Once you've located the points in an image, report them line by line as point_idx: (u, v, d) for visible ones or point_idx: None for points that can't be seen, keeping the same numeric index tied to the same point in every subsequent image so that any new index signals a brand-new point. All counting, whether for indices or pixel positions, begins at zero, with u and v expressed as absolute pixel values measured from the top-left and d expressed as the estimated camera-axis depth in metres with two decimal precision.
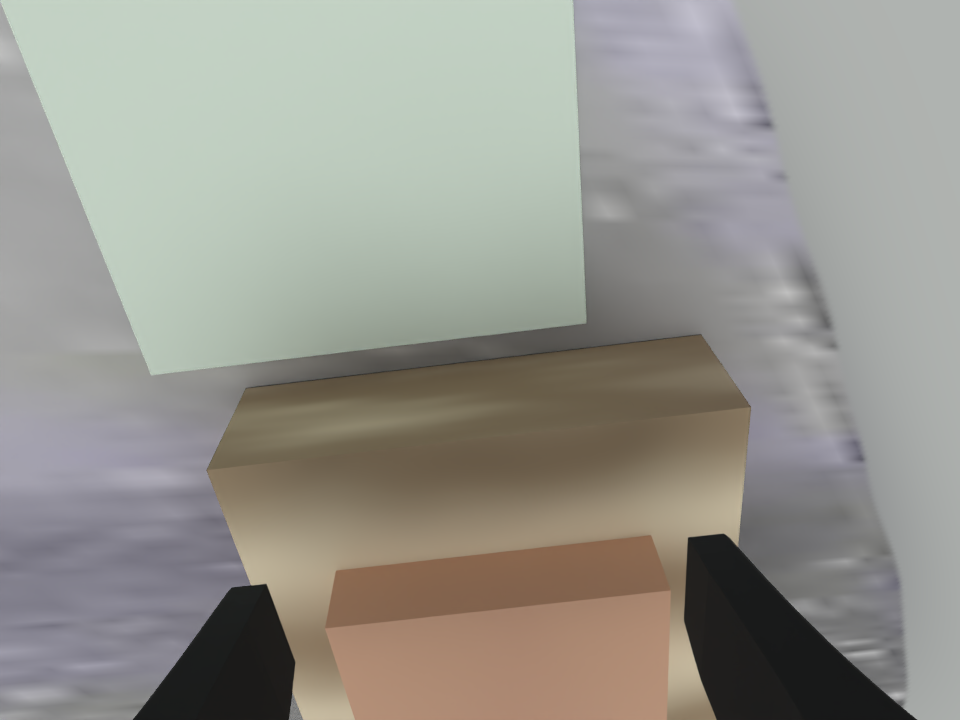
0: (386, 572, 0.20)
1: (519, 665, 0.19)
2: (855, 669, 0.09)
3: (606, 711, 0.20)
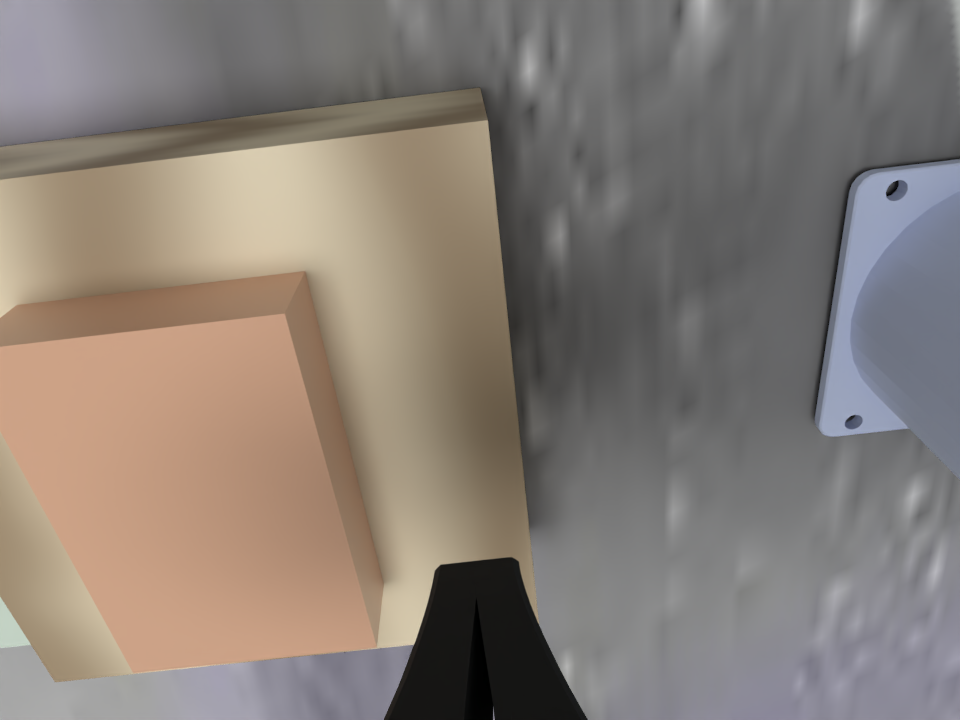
0: None
1: (158, 510, 0.15)
2: (569, 699, 0.09)
3: (243, 404, 0.13)
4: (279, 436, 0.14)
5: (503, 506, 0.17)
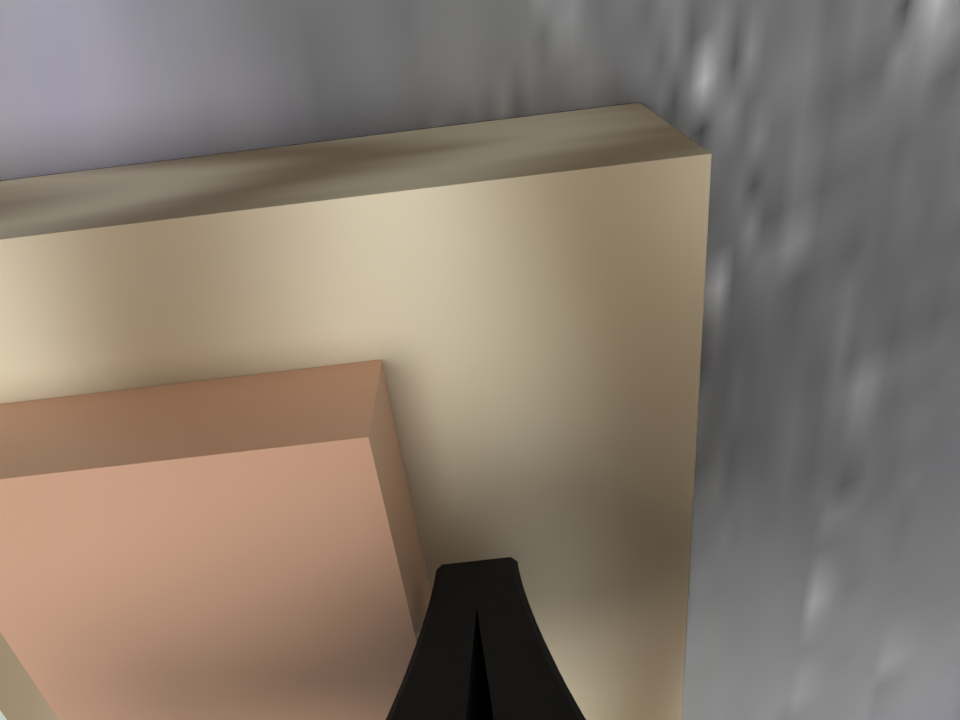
0: None
1: (184, 675, 0.11)
2: (568, 700, 0.09)
3: (303, 550, 0.10)
4: (350, 587, 0.10)
5: (657, 630, 0.14)
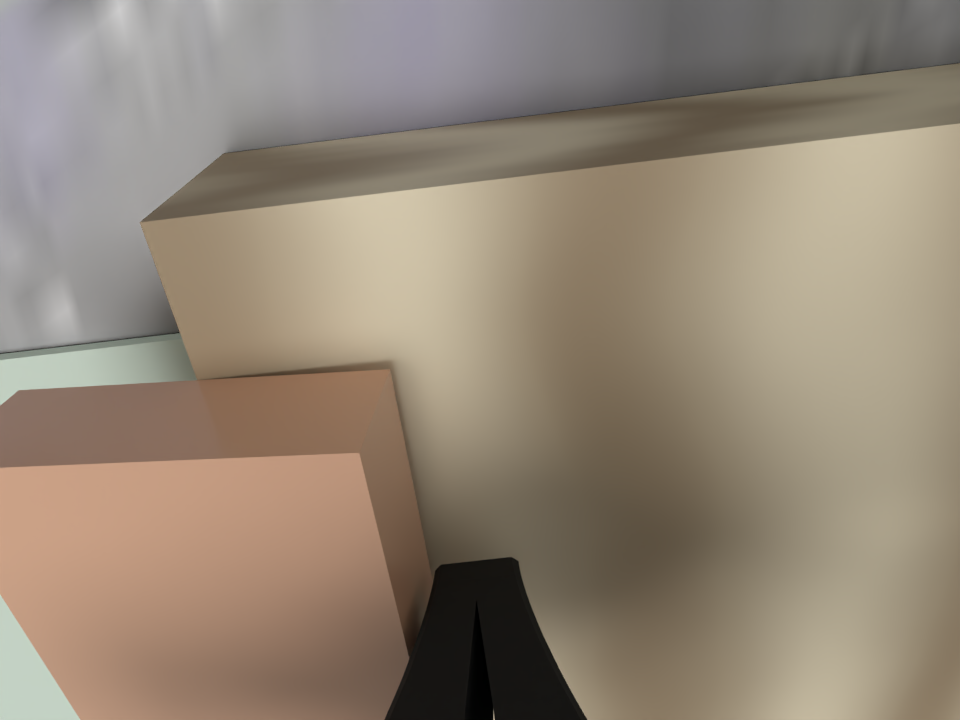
0: None
1: (182, 669, 0.11)
2: (569, 699, 0.09)
3: (296, 559, 0.10)
4: (342, 600, 0.10)
5: None
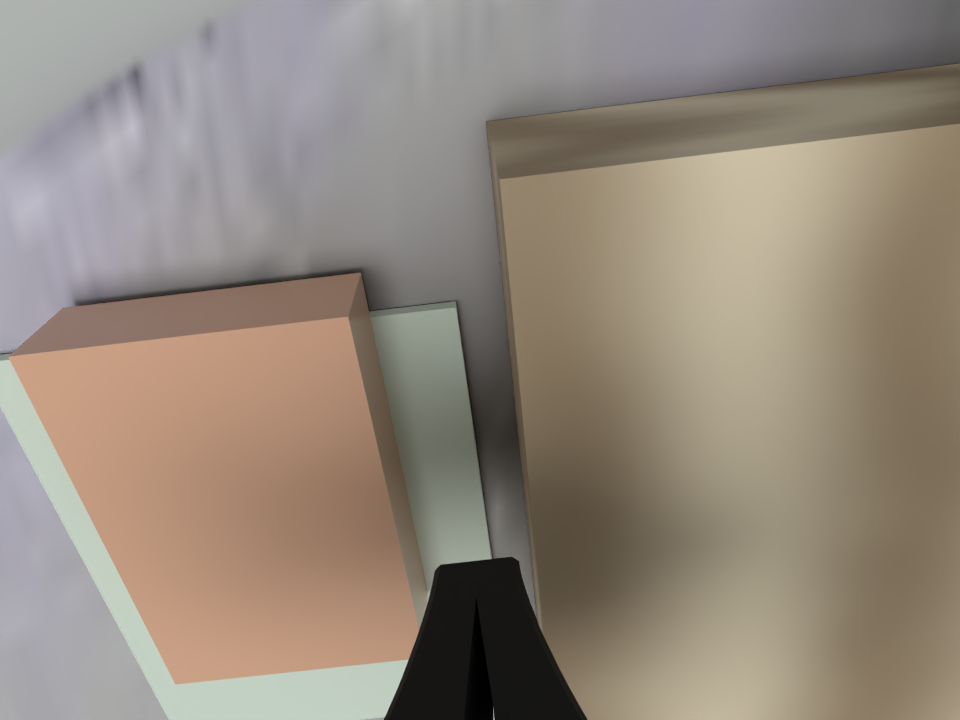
0: (416, 604, 0.16)
1: None
2: (569, 699, 0.09)
3: None
4: None
5: None
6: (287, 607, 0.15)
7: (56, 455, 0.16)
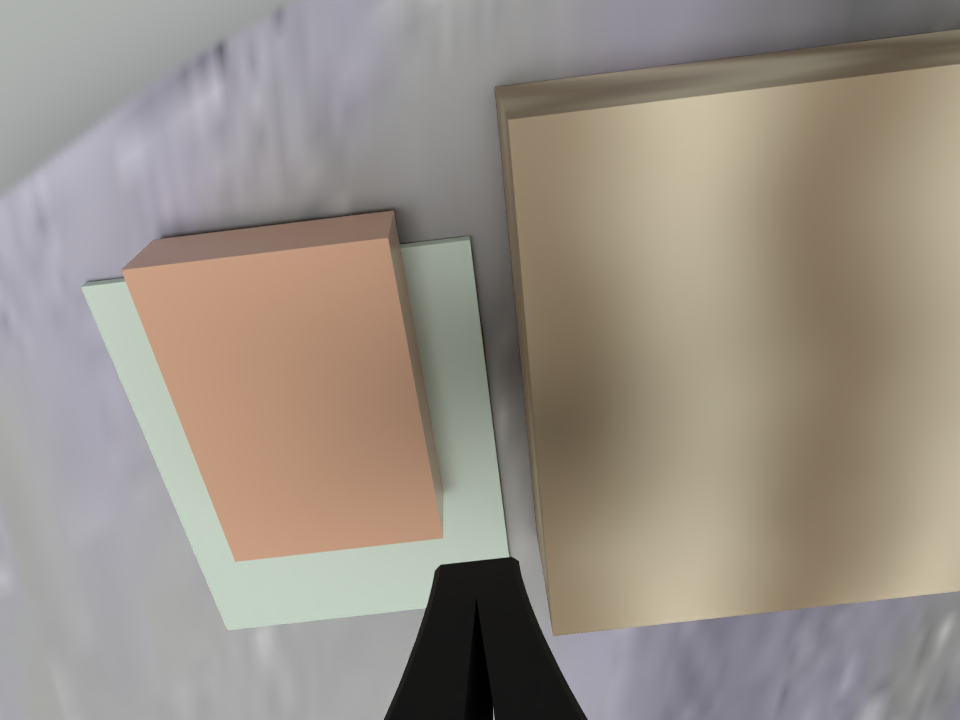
0: (435, 491, 0.19)
1: None
2: (569, 699, 0.09)
3: None
4: None
5: None
6: (330, 491, 0.19)
7: (139, 367, 0.19)
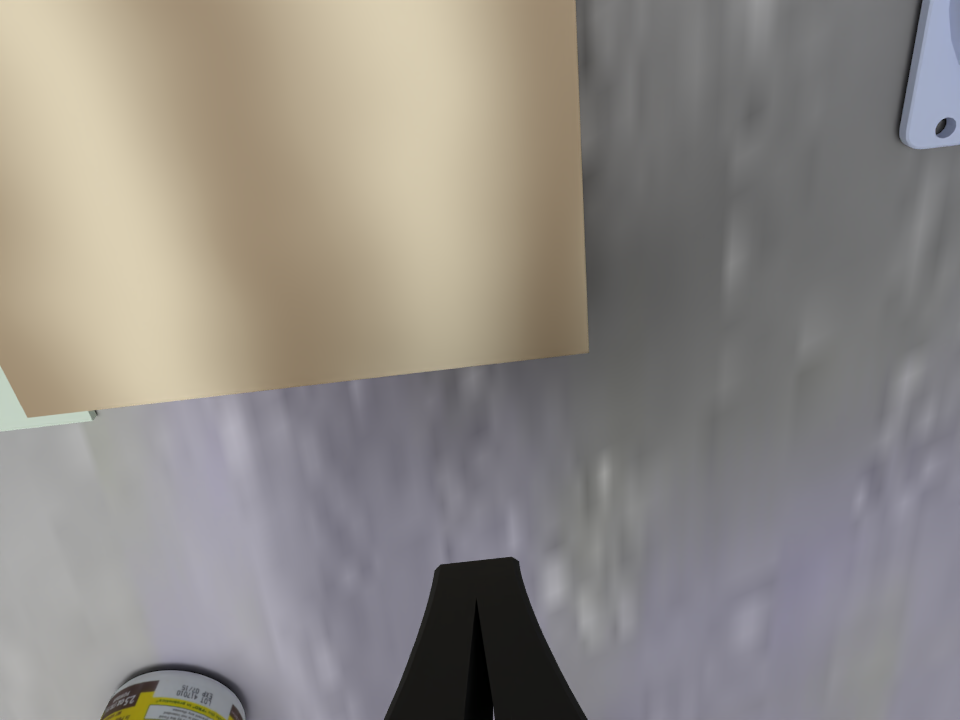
0: None
1: None
2: (569, 700, 0.09)
3: None
4: None
5: (554, 161, 0.15)
6: None
7: None
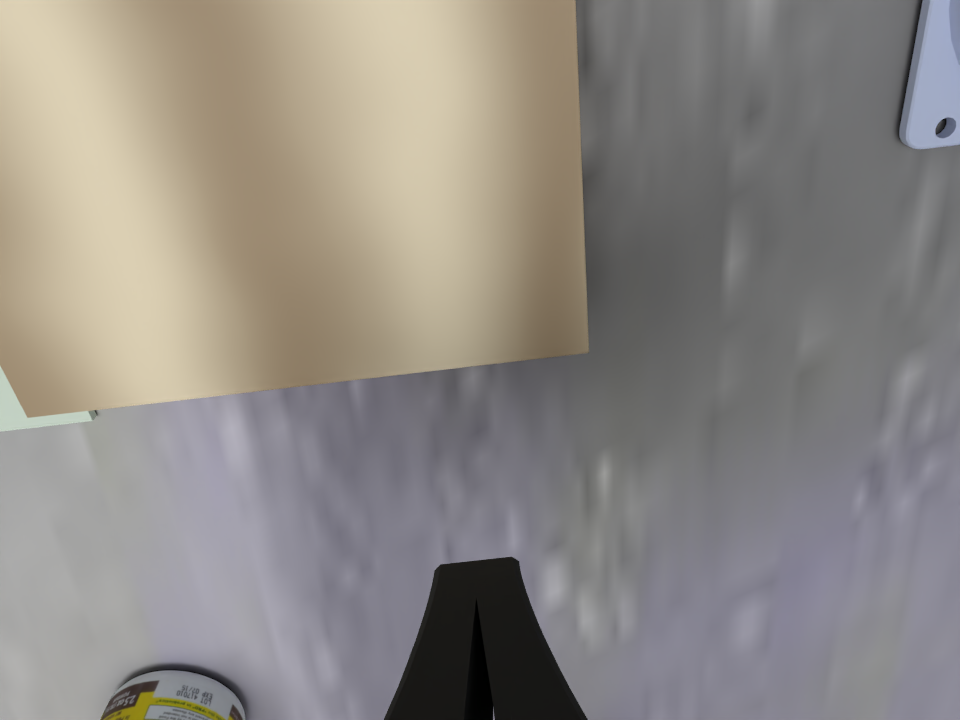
0: None
1: None
2: (569, 700, 0.09)
3: None
4: None
5: (554, 161, 0.15)
6: None
7: None
